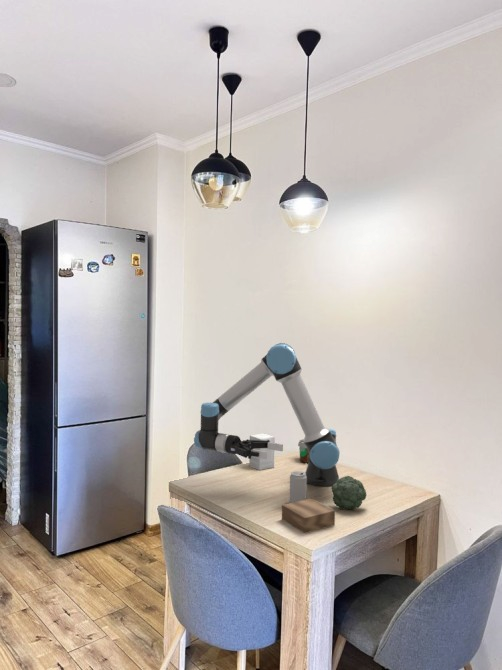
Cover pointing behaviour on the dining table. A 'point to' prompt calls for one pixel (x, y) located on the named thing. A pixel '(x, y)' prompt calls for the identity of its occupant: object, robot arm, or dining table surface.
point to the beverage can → (298, 486)
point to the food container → (303, 452)
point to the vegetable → (348, 493)
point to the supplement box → (260, 462)
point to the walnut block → (308, 515)
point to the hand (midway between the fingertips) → (275, 451)
